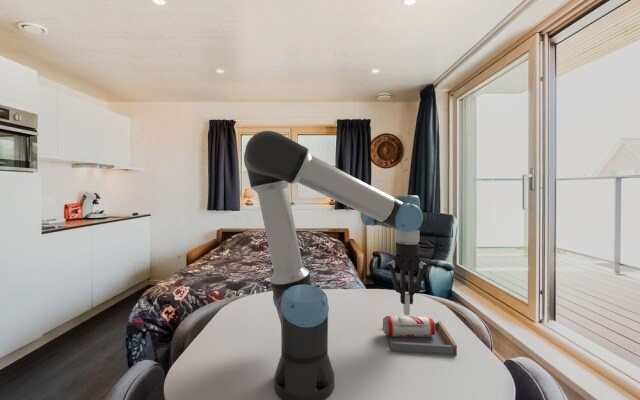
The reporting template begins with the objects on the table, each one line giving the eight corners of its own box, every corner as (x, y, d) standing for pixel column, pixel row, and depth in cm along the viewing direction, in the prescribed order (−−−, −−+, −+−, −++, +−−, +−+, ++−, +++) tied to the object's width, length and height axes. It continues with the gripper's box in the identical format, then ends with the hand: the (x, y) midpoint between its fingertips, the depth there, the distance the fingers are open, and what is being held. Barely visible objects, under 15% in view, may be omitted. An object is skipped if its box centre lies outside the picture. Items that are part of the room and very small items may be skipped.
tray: (456, 355, 86) (456, 345, 86) (391, 350, 88) (391, 341, 88) (440, 329, 102) (440, 321, 102) (385, 326, 104) (385, 318, 104)
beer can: (382, 332, 99) (429, 333, 99) (386, 339, 93) (436, 340, 93) (382, 313, 100) (429, 314, 100) (386, 319, 94) (435, 320, 93)
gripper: (424, 240, 98) (424, 309, 98) (385, 239, 99) (385, 307, 100) (431, 244, 90) (430, 319, 91) (388, 243, 92) (387, 317, 92)
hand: (406, 313), depth 95 cm, fingers closed
